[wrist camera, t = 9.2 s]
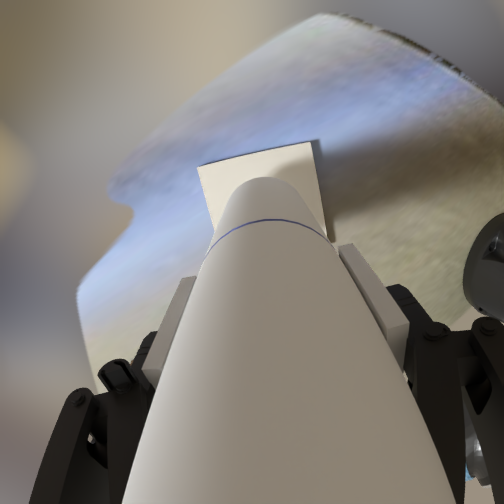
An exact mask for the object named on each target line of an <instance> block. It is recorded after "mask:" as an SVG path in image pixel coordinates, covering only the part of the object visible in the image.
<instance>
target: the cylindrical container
mask: <svg viewBox="0 0 504 504" xmlns="http://www.w3.org/2000/svg"><path fill="white" fill-rule="evenodd" d="M122 504H456V502H455V499H454V496H453V493H452V490H451V487H450V484H449V482H448V479H447V476H446V473H445V471H444V468H443V465H442V463H441V460H440V458H439V455H438V452H437V450H436V447H435V445H434V443H433V440H432V438H431V435H430V433H429V431H428V428H427V426H426V424H425V421H424V419H423V417H422V414H421V412H420V410H419V408H418V405H417V403H416V401H415V399H414V397H413V394H412V392H411V390H410V388H409V386H408V384H407V382H406V380H405V378H404V376H403V373H402V371H401V369H400V367H399V365H398V363H397V361H396V359H395V357H394V355H393V353H392V351H391V349H390V347H389V345H388V343H387V342H386V340H385V338H384V336H383V334H382V332H381V330H380V328H379V326H378V324H377V323H376V321H375V319H374V317H373V315H372V313H371V311H370V310H369V308H368V306H367V304H366V302H365V301H364V299H363V297H362V295H361V293H360V292H359V290H358V288H357V286H356V285H355V283H354V281H353V279H352V278H351V276H350V274H349V272H348V271H347V269H346V267H345V266H344V264H343V262H342V261H341V259H340V257H339V256H338V254H337V252H336V251H335V249H334V247H333V246H332V244H331V242H330V241H329V239H328V238H327V236H326V234H325V233H324V231H323V230H322V228H321V226H320V225H319V223H318V222H317V220H316V219H315V217H314V216H313V214H312V212H311V211H310V209H309V208H308V206H307V205H306V203H305V202H304V200H303V199H302V197H301V196H300V194H299V193H298V191H297V190H296V189H295V188H294V187H293V186H291V185H290V184H289V183H287V182H285V181H283V180H281V179H278V178H273V177H258V178H253V179H251V180H248V181H246V182H244V183H243V184H241V185H240V186H239V187H237V188H236V190H235V191H234V192H233V193H232V194H231V196H230V198H229V199H228V202H227V204H226V206H225V209H224V211H223V214H222V216H221V218H220V221H219V223H218V226H217V228H216V231H215V233H214V236H213V238H212V241H211V243H210V246H209V248H208V251H207V253H206V256H205V258H204V261H203V263H202V266H201V268H200V271H199V274H198V276H197V279H196V281H195V284H194V286H193V289H192V292H191V294H190V297H189V300H188V302H187V305H186V308H185V310H184V313H183V316H182V318H181V321H180V324H179V326H178V329H177V332H176V335H175V337H174V340H173V343H172V346H171V348H170V351H169V354H168V357H167V360H166V363H165V366H164V368H163V371H162V374H161V377H160V380H159V383H158V386H157V389H156V392H155V395H154V398H153V401H152V404H151V407H150V410H149V413H148V417H147V420H146V423H145V426H144V429H143V432H142V436H141V439H140V442H139V445H138V449H137V452H136V455H135V459H134V462H133V465H132V469H131V472H130V476H129V479H128V483H127V486H126V490H125V494H124V497H123V501H122Z"/></svg>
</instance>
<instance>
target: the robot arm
mask: <svg viewBox="0 0 504 504" xmlns="http://www.w3.org/2000/svg"><path fill="white" fill-rule="evenodd" d="M338 250H339V257H340V259H341V261H342V262H343V264H344V266H345V267H346V269H347V271H348V272H349V274H350V276H351V278H352V279H353V281H354V283H355V285H356V286H357V288H358V290H359V292H360V293H361V295H362V297H363V299H364V301H365V302H366V304H367V306H368V308H369V310H370V311H371V313H372V315H373V317H374V319H375V321H376V323H377V324H378V326H379V328H380V330H381V332H382V334H383V336H384V338H385V340H386V342H387V343H388V345H389V347H390V349H391V351H392V353H393V355H394V357H395V359H396V361H397V363H398V365H399V367H400V369H401V371H402V373H403V372H404V371H405V373H406V375H407V377H408V382H407V384H408V386H409V388H410V390H411V392H412V394H413V397H414V399H415V401H416V403H417V405H418V408H419V410H420V412H421V414H422V417H423V419H424V421H425V424H426V426H427V428H428V431H429V433H430V435H431V438H432V440H433V443H434V445H435V447H436V450H437V452H438V455H439V458H440V460H441V463H442V465H443V468H444V471H445V473H446V476H447V479H448V482H449V484H450V487H451V490H452V493H453V496H454V499H455V502H456V504H464V494H465V481H468V480H472V479H473V478H474V477H476V478H477V479H478V481H479V483H480V484H481V486H482V487H483V488H492V492H493V496H494V501H495V504H504V325H503V324H502V323H501V322H503V323H504V214H501V215H499V216H497V217H495V218H494V219H492V220H491V221H490V222H489V223H488V224H487V225H486V226H485V227H484V228H483V229H482V231H481V232H480V233H479V235H478V237H477V238H476V240H475V242H474V243H473V245H472V248H471V250H470V252H469V255H468V258H467V261H466V264H465V268H464V274H463V289H464V294H465V297H466V299H467V300H468V302H469V303H470V304H471V305H472V306H473V307H474V308H475V309H476V310H477V311H478V312H480V313H481V314H484V315H487V316H489V317H480V318H478V319H476V320H475V321H474V322H473V324H472V328H471V330H464V331H451V330H450V328H449V327H447V326H446V325H445V324H442V323H440V322H433V320H432V319H431V318H430V317H429V315H428V314H427V313H426V311H425V310H424V309H423V307H422V306H421V305H420V304H419V303H418V301H417V300H416V299H415V297H413V295H412V294H411V292H410V291H409V290H408V289H407V288H405V287H404V286H402V285H400V284H396V285H392V286H388V287H385V286H384V285H383V283H382V282H381V281H380V279H379V278H378V277H377V275H376V274H375V272H374V271H373V270H372V268H371V267H370V266H369V264H368V263H367V262H366V260H365V259H364V258H363V256H362V255H361V254H360V252H359V251H358V250H357V248H356V247H355V246H354V245H353V243H352V244H348V245H343V246H338ZM196 279H197V277H196V276H192V277H186V278H182V280H181V282H180V284H179V286H178V288H177V290H176V292H175V295H174V297H173V299H172V301H171V303H170V305H169V308H168V310H167V312H166V314H165V316H164V319H163V321H162V323H161V325H160V328H159V330H158V331H154V332H150V333H149V334H148V335H147V336H146V337H145V338H144V339H143V341H142V343H141V345H140V349H139V350H138V352H137V355H136V356H135V358H134V360H133V362H132V365H131V366H130V364H129V362H128V361H126V360H125V359H115V360H112V361H110V362H108V363H106V364H105V365H104V366H103V367H102V368H101V369H100V370H99V372H98V375H97V376H98V377H99V379H100V380H101V382H102V383H103V384H104V386H105V387H106V388H107V390H108V391H109V392H106V393H102V394H98V395H94V394H93V393H92V392H91V391H90V390H89V389H88V388H79V389H76V390H74V391H73V392H72V393H71V394H70V395H69V396H68V398H67V399H66V401H65V404H64V406H63V408H62V410H61V413H60V415H59V418H58V420H57V422H56V425H55V428H54V430H53V433H52V435H51V438H50V441H49V443H48V446H47V448H46V451H45V454H44V457H43V460H42V463H41V466H40V468H39V471H38V475H37V478H36V481H35V484H34V487H33V491H32V494H31V497H30V501H29V504H122V501H123V497H124V494H125V490H126V486H127V483H128V479H129V476H130V472H131V469H132V465H133V462H134V459H135V455H136V452H137V449H138V445H139V442H140V439H141V436H142V432H143V429H144V426H145V423H146V420H147V417H148V413H149V410H150V407H151V404H152V401H153V398H154V395H155V392H156V389H157V386H158V383H159V380H160V377H161V374H162V371H163V368H164V366H165V363H166V360H167V357H168V354H169V351H170V348H171V346H172V343H173V340H174V337H175V335H176V332H177V329H178V326H179V324H180V321H181V318H182V316H183V313H184V310H185V308H186V305H187V302H188V300H189V297H190V294H191V292H192V289H193V286H194V284H195V281H196ZM500 321H501V322H500ZM89 434H90V435H91V436H92V437H93V439H92V441H91V443H90V442H89V441H88V436H89Z"/></svg>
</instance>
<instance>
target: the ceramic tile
mask: <svg viewBox="0 0 504 504" xmlns="http://www.w3.org/2000/svg"><path fill="white" fill-rule="evenodd" d="M197 169H198V173H199V177H200V180H201V184H202V188H203V191H204V195H205V199H206V202H207V206H208V209H209V213H210V216H211V220H212V223H213V227H214V230H215V231H216V228H217V226H218V223H219V221H220V218H221V216H222V214H223V211H224V209H225V206H226V204H227V202H228V199H229V198H230V196H231V194H232V193H233V192H234V191H235V190H236V188H237V187H239V186H240V185H241V184H243V183H244V182H246V181H248V180H251V179H253V178H258V177H273V178H278V179H281V180H283V181H285V182H287V183H289V184H290V185H291V186H293V187H294V188H295V189H296V190H297V191H298V193H299V194H300V196H301V197H302V199H303V200H304V202H305V203H306V205H307V206H308V208H309V209H310V211H311V212H312V214H313V216H314V217H315V219H316V220H317V222H318V223H319V225H320V226H321V228H322V230H323V231H324V233H325V234H326V236H327V233H326V226H325V220H324V213H323V207H322V201H321V196H320V190H319V184H318V179H317V173H316V168H315V163H314V158H313V153H312V148H311V143H310V142H305V143H299V144H294V145H289V146H284V147H279V148H274V149H269V150H264V151H260V152H255V153H251V154H246V155H242V156H238V157H234V158H230V159H225V160H221V161H218V162H214V163H210V164H206V165H202V166H199V167H197Z"/></svg>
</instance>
